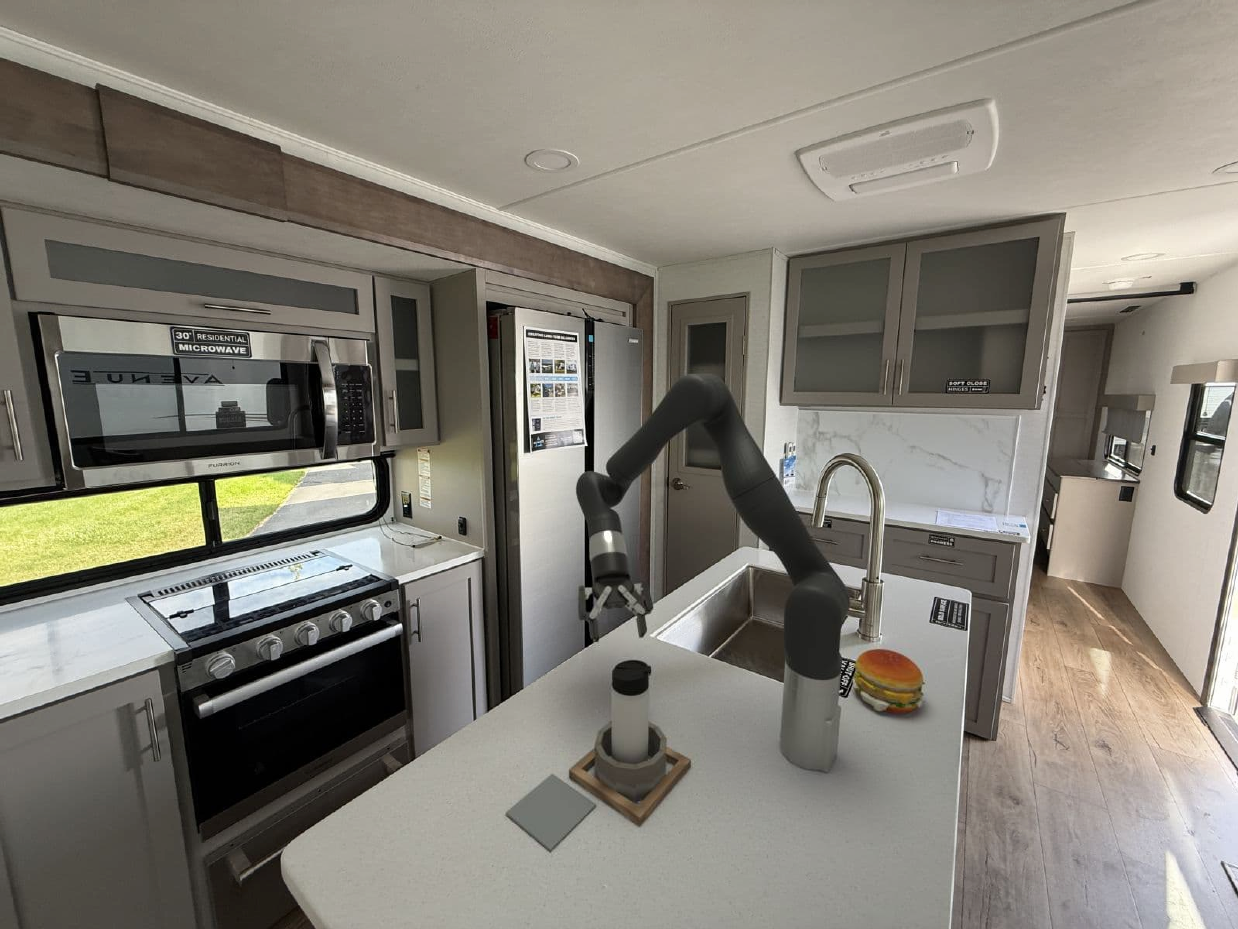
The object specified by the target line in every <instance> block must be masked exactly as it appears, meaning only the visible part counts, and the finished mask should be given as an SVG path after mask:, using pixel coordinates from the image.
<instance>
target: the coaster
mask: <svg viewBox="0 0 1238 929" xmlns="http://www.w3.org/2000/svg"><path fill="white" fill-rule="evenodd" d="M596 807H597V803H595V802H594V801H592V800H591V799H590V798H589V797H587V796H585V795H584V794H582V793H581V792H580V791H578V790H577V789H575V788H574V787H572V785H569V784H568V783H567V782H565V781H563V779H561V778H559V777H558V776H557V775H555V774H553V773H550V774H549V776H547V777H546V778H545V779H543V781H542V782H540V783H539V784H538V785H537V786H535V787H534V788H533V789H532V790H531V791H529V792H528V793H527V794H526V795H525V796H524V797H523V798H521V799H520V800H519V801H518V802H516V803H515V804H514V805H512V806H511V807H510V808H508V809H507V811H505V815H506V817H508V818H509V819H511V821H513V822H514V823H515V824H516V825H517V826H519V827H520V828H521V829H523V830H524V832H526V833H527V834H528V835H529V836H531V837H532V839H534V840H536V842H537V843H539V844H540V845H542V847H544V848H545V849H546V850H548V851H549V853H551V852H552V851H553V850H555V849H556V847H557V846H558V845H560V843H561V842H562V841H563V840H564V839H566V837H567V836H569V835H570V833H572V831H574V829H575V828H577V827H578V825H580V823H582V821H583V820H585V819H586V817H587V816H588V815H589V814H590V813H591V812H592V811H593V810H594V809H596Z"/></svg>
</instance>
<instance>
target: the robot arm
mask: <svg viewBox="0 0 1238 929" xmlns="http://www.w3.org/2000/svg"><path fill="white" fill-rule="evenodd" d="M694 424H701V426H702V427H703V429H704V430H705V432H706V433H707V435H708V437H709V438H710V439H711V442H712V443H713V446H714V448H715V450H716V451H717V456H718V460H719V464H720V470H721V474H722V480H723V484H724V485H723V486H724V488H725V490H726V493H727V496H728V497H729V499H730V501H731V503H732V505H733V507H734V508H735V510H736V512H737V513H738V516H739V517H740V518H741V520H742V521H743V523H744V525H745V526H746V527H747V529H749V530H750V531H751V532H752V533H753V534H754V535H755V537H757V538H758V539H759V540H760V541H761V542H762V543H764V544H765V545H766V546H767V547H768V548H769V549H770V550H771V551H772V552H773V553H774V555H775V556H777V558H778V559H779V561H780V563H781V564H782V566H783V567H784V570H785V571H786V573H787V575H788V576H789V579H790V581H791V584H792V585H793V588H792V589H791V591H789V593H788V595H787V597H786V600H785V604H784V611H783V613H784V614H783V633H782V636H783V637H782V639H783V641H782V642H783V650H784V652H785V661H784V662H785V663H784V676H783V688H782V689H783V692H782V702H781V703H782V704H781V722H780V732H779V738H780V740H779V749H780V751H781V753H782V754H783V756H784V757H785V758H786V759H787V760H788V761H789V762H791V763H792V764H794V765H795V766H798V767H800V768H803V769H806V770H815V771H822V772H824V773H828V772H829V769H830V768H831V766H832V764H833V762H834V760H835V758H836V757H837V754H838V748H839V747H838V745H839V738H840V737H839V736H840V735H839V734H840V726H841V722H840V721H841V715H842V714H841V713H842V707H841V705H839V699H840V698H839V697H840V688H841V687H840V686H841V676H842V668H843V657H842V656H843V655H842V654H841V652H840V650H841V647H840V646H841V635H842V634H841V633H842V624H843V622H844V621H845V618H846V616H847V615H848V612H849V610H850V608H851V598H850V593H849V591H848V589H847V587H846V584H845V583H844V581H843V580H842V579H841V577H840V576H839V575H838V573H837V572H836V570H835V569H834V568H833V566H831V564H830V562H829V561H828V560H827V558H826V557H825V555H824V554H823V553H822V551H821V550H820V549H819V547H818V546H817V544H816V542H815V541H814V540H813V538H812V536H811V535H810V533H809V531H808V529H807V527H806V526H805V524H804V521H803V520H802V518H801V516H800V515H799V513H798V512H797V509H796V508H795V507H794V504H793V503H792V501H791V499H790V497H789V495H788V494H787V491H786V489H785V488H784V487H783V485H782V482H780V479H779V478H778V477H777V475H776V473H775V472H774V470H773V468H772V467H771V465H770V464H769V462H768V460H767V459H766V457H765V455H764V453H763V452H762V451H761V449H760V446H758V444H757V442H756V440H755V439H754V438H753V436H752V435H751V432H750V431H749V429H748V428H747V426H746V423H745V422H744V419H743V417H742V415H741V413H740V410H739V409H738V406H737V404H736V402H735V399H734V397H733V395H732V393H731V390H730V388H729V387H728V386H727V384H726V382H724V380H723V379H722V378H720V377H719V376H717V375H715V374H711V373H689V374H685V375H683V376H681V377H680V378H678V379H677V380H676V381H675V382H674V384H673V385H672V386H671V388H670V389H669V390H668V391H667V392H666V394H665V396H663V398H662V400H661V401H660V403H659V404H658V405H657V407H656V408H654V410H653V412H652V413H651V414H650V416H648V418H647V419H646V420H645V422H644V423H643V424H642V425H641V426H640V428H639V429H638V430H637V431H636V432H635V433H634V434H633V435H632V436H631V437H630V438H629V439H628V440H627V441H626V442H625V443H624V444H623V445H622V446H621V447H619V449H617V451H616V452H615V453H614V454H612V455H611V457H610V458H608V460H607V461H606V464H605V469H606V473H607V475H606V474H603V473H599V472H597V471H592V470H588V471H585V472H583V473H581V475H580V476H579V477H578V479H577V481H576V486H575V495H576V498H577V502H578V504H579V507H580V510H581V512H582V514H583V517H584V519H585V521H586V523H587V530H588V531H587V532H588V540H589V546H588V548H589V549H588V550H589V561H590V569H591V576H592V577H591V578H592V587H585V586H584V585H579V587H578V590H577V610H578V614H577V616H578V620H580V621H585V622H587V623H588V628H589V636H590V639H591V640H593V641H594V643H599V642H600V634H599V633H600V632H599V626H598V625H599V623H598V619H597V617H598V616H599V614H600V613H601V611H602V610H603V608H605V609H606V610H611V609H614V608H616V609H623V608H624V607H625V608H626V609H627V610H628V611H629V612H632V613H633V615H634V616H636V618H635V622H636V627H637V632H638V638H639V639H641V638H642V639H643V638H644V637H645V635H646V634H647V631H648V626H647V621H646V616H647V615H650V614H652V611H653V610H654V603H653V600H652V596H651V591H650V586H649V583H648V582H647V580H644V581H642V582H641V583H639V582H638V583H634V582H633V581H632V579H631V572H630V565H629V559H628V552H627V547H626V542H625V540H624V534H623V530H622V523H621V522H622V521H621V517H620V515H619V514H618V511H615V510H614V509H613V508H614V507H617V506H618V505H620V503H621V502H622V500H623V499H624V498H625V495H626V494H627V492H628V491H629V489H630V487H631V486H632V484H633V482H634V481H636V479H638V477H640V476H642V474H644V472H645V471H647V469H649V468H650V466H652V464H653V463H655V461H656V460H657V458H658V457H659V455H660V454H661V452H662V450H663V449H664V448H665V446H666V445H667V444H668V443H669V442H670V441H671V440H672V439H673V438H674V437H676V436H677V435H679V434H680V433H681V432H682V431H684V430H686V429H687V428H689V427H691V426H693V425H694ZM634 591H635V592H637V594H638V595H640V596H641V599H642V600H641V601H642V603H643V606H642V605H641V604H640V603H639V602H638V600H637V599H636V598H635V597H634V596H633V593H634ZM590 595H592V596H593V598H595V600H596V603H595V604H594V606H593V607H592V610H591V611H590V612H589V611H587V609H586V608H587V605H586V600H588V599H589V598H590Z"/></svg>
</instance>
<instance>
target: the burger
mask: <svg viewBox="0 0 1238 929" xmlns="http://www.w3.org/2000/svg"><path fill="white" fill-rule="evenodd" d="M853 669H855V671H854V675H853V677H852V687H853V688H854V690H856V692H857V694H858V695H859V697H860V698H861V699H862V700H863V701H864V702H865V703H867V704H869V705H870V706H872V707H873V708H874V710H875V711H876V712H877V711H878V712H882V711H884V712H889V713H893V714H906V713H911V712H912V711H913V710H915V709H917V708H921V707H923V703H924V700H923V696H925V694H924V693H923V692H922V688H923V685H926V683H925V681H924V676H923V673H922V671H921V669H920V668H919V666H918V665H917V664H916V663H915V662H914V661H913V660H912V659H910V658H909V657H908V656H906V655H904V654H902V653H900V652H897V651H895V650H890V649H886V648H885V649H884V648H874V649H870V650H869V649H868V650H866V651H864V652H862V653H861V654H860V655H858V657H857V659H856V661H855V664H853Z"/></svg>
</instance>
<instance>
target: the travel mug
mask: <svg viewBox="0 0 1238 929" xmlns="http://www.w3.org/2000/svg"><path fill="white" fill-rule="evenodd" d="M651 674H652V666H651V665H648V664H647V663H646V662H645V661H643V660H639V659H628V660H623V661H621V662H619V663H617V664H616V665H615V666H614V668H613V669H612V672H611V721H612V756H611V758H612V759H614V760H616V761H617V762H620V763H628V764H638V763H641V762H645V761H648V760H649V756H648V722H650V721H649V719H650V718H649V716H650V715H649V714H650V712H649V710H650V708H649V706H650V682H649V680H650V676H651Z"/></svg>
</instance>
